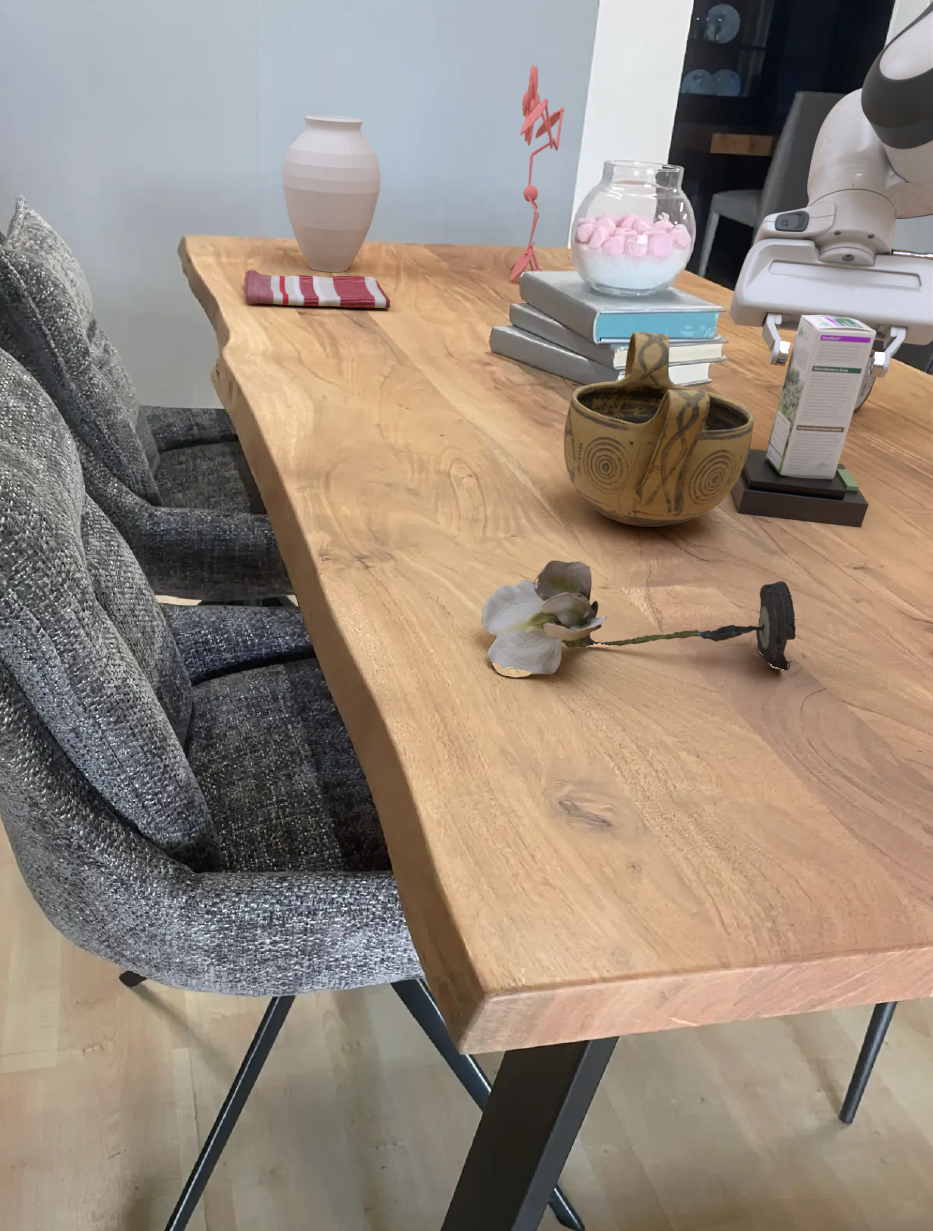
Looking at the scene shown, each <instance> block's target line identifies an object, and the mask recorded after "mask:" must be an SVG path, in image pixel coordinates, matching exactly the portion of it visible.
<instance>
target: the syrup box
mask: <svg viewBox="0 0 933 1231" xmlns="http://www.w3.org/2000/svg"><path fill="white" fill-rule="evenodd" d="M875 336H876V331H874V330H873V329H871V328H870V327H868V326H866V325H865V324H863V323H862V322H860V321H858V320H857V319H855V318H850V317H844V316H835V315H802V317H801V318H800V322H799V326H798V330H797V331H796V334H795V338H794V341H793V345H792V350H791V353H790V357H789V362H788V366H787V370H786V373H785V377H784V381H783V385H782V389H781V393H780V396H779V400H778V404H777V408H776V412H775V416H774V420H773V424H772V427H771V432H770V435H769V440H768V443H767V447H766V450H765V451H766V455H765V457H766V459H767V460H768V461H769V462H770V463H771V464H772V466H773V467H774V468H775V469H776V470H777V472H778V473H779V474H780V475H783V476H790V477H800V478H816V479H833V478H834V476H835V472H836V469H837V465H838V464H839V462H840V458H841V455H842V452H843V448H844V445H845V442H846V438H847V435H848V431H849V429H850V425H851V421H852V418H853V415H854V413H853V411H854V408H855V404H856V401H857V398H858V394H859V391H860V387H861V384H862V380H863V377H864V373H865V370H866V366H867V363H868V359H869V356H870V352H871V349H872V350H873V345H874V341H875V340H874V339H875Z"/></svg>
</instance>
